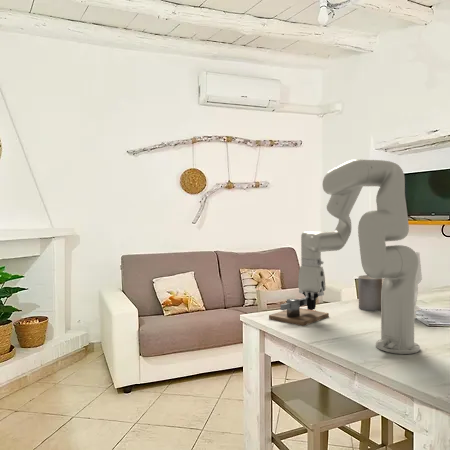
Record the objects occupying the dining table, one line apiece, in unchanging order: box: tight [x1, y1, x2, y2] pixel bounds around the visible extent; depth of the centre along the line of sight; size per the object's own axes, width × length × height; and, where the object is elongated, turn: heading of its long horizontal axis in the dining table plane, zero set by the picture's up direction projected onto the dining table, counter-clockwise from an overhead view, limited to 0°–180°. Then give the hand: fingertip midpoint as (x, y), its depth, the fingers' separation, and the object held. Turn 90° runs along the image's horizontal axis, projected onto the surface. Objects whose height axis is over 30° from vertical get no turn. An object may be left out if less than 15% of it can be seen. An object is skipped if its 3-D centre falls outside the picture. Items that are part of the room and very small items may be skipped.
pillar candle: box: [357, 274, 383, 312], centre depth 190 cm, size 10×10×15 cm
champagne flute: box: [415, 251, 423, 312], centre depth 188 cm, size 7×7×24 cm
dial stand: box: [268, 307, 330, 327], centre depth 176 cm, size 18×16×2 cm
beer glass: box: [414, 279, 419, 320], centre depth 174 cm, size 7×7×15 cm
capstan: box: [279, 297, 307, 317], centre depth 174 cm, size 18×5×6 cm, turn 134°
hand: (311, 309), depth 175 cm, fingers closed
